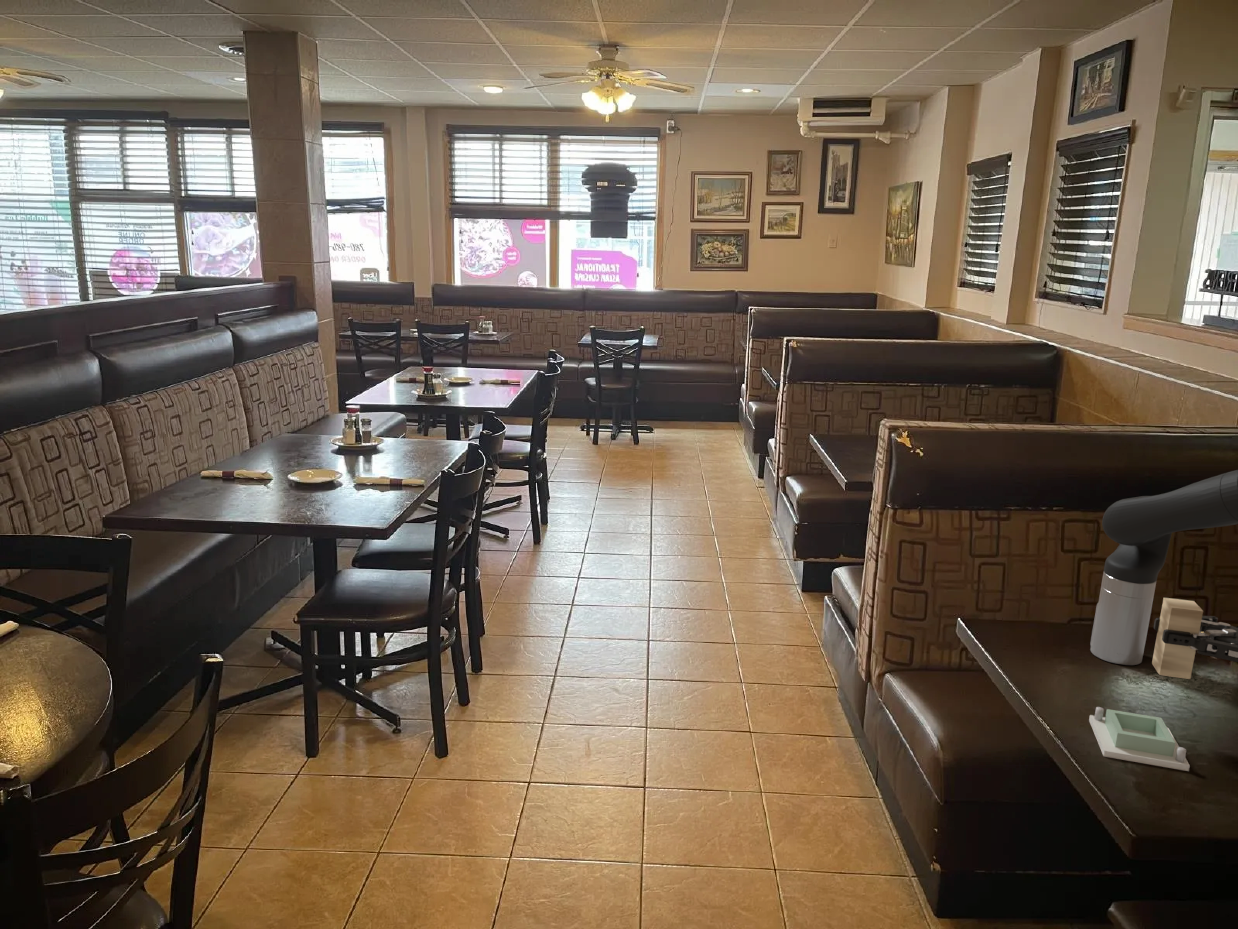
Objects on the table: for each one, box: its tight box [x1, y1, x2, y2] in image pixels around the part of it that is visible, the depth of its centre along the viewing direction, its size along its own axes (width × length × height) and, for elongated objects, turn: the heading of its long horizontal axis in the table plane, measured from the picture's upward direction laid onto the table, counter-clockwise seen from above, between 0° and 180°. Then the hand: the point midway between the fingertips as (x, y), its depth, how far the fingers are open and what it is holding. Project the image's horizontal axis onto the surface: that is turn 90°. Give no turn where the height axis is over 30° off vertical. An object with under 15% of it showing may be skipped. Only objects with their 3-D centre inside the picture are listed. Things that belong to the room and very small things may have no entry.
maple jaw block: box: [1151, 597, 1204, 680], centre depth 146 cm, size 4×4×12 cm
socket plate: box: [1088, 706, 1191, 772], centre depth 144 cm, size 12×12×4 cm
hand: (1159, 630), depth 146 cm, fingers closed on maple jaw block, 4 cm apart
